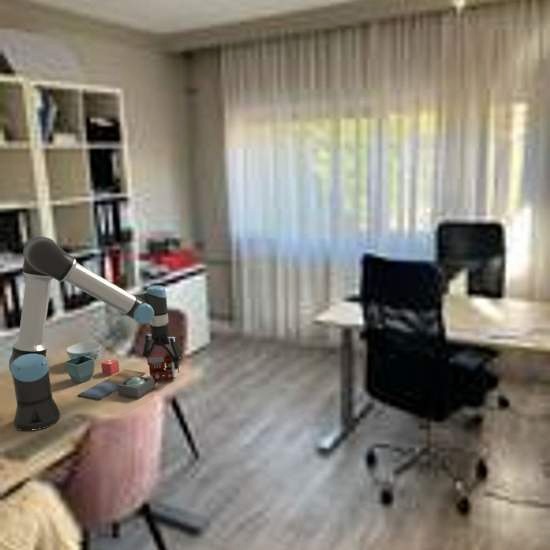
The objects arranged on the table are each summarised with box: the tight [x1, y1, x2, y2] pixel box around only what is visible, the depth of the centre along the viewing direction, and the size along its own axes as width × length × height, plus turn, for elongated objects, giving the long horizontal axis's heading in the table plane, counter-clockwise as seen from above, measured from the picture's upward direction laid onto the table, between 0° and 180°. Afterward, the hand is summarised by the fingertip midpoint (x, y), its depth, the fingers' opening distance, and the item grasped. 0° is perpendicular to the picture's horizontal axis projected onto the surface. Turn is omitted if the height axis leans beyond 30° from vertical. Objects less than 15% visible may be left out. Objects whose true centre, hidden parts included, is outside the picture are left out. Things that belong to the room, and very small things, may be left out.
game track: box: [77, 369, 146, 401], centre depth 237 cm, size 28×11×1 cm, turn 154°
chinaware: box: [66, 341, 102, 362], centre depth 262 cm, size 15×15×8 cm
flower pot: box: [64, 356, 95, 384], centre depth 242 cm, size 9×9×9 cm
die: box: [100, 358, 120, 376], centre depth 249 cm, size 5×5×5 cm
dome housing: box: [117, 376, 156, 400], centre depth 227 cm, size 10×10×4 cm
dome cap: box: [126, 377, 145, 387], centre depth 227 cm, size 7×7×5 cm
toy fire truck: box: [146, 353, 180, 382], centre depth 240 cm, size 7×12×10 cm, turn 100°
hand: (163, 374), depth 241 cm, fingers closed on toy fire truck, 11 cm apart
